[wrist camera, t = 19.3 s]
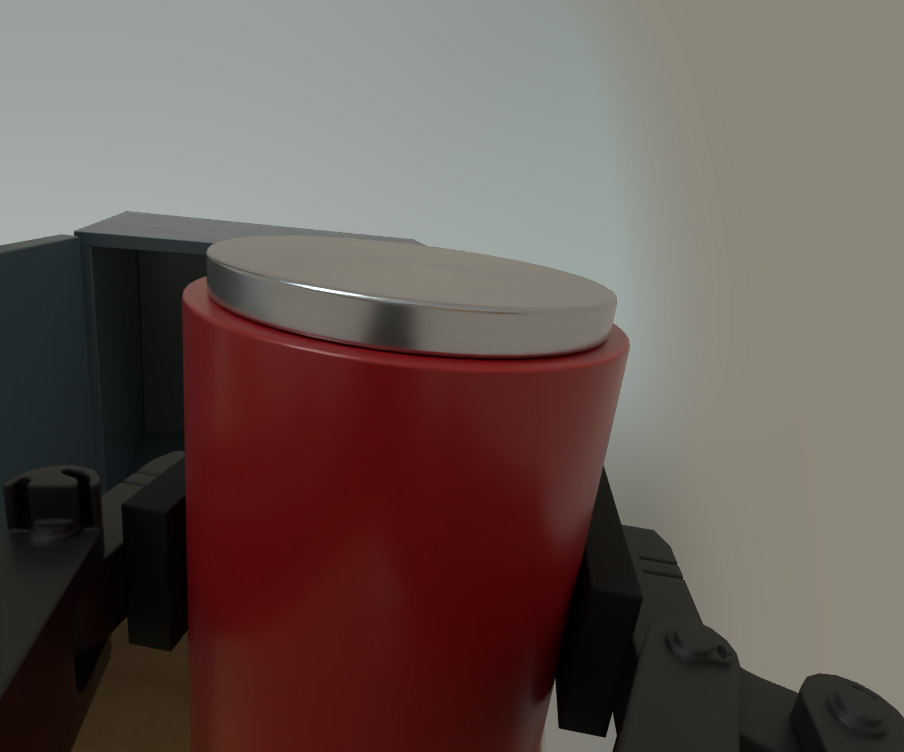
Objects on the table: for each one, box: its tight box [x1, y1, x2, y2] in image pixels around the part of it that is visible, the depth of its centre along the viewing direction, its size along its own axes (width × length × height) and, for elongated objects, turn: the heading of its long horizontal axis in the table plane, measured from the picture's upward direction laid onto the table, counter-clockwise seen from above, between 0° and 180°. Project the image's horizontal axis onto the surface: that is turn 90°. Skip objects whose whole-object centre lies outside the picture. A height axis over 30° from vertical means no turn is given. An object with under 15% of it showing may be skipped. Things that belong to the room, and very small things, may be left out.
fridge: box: [74, 211, 426, 496], centre depth 46 cm, size 15×24×20 cm, turn 108°
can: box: [182, 236, 630, 752], centre depth 11 cm, size 7×7×12 cm
